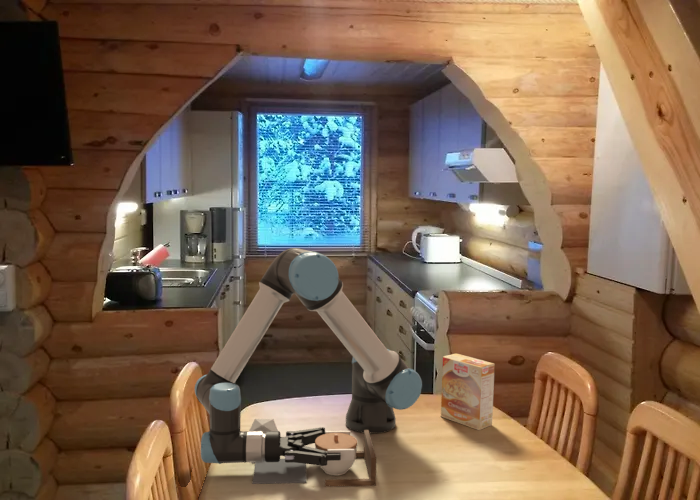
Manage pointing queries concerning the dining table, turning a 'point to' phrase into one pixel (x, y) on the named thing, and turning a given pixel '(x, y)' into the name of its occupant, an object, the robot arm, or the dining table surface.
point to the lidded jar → (336, 443)
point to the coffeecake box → (467, 391)
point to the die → (263, 425)
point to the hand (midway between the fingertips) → (352, 445)
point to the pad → (279, 472)
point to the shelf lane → (370, 465)
